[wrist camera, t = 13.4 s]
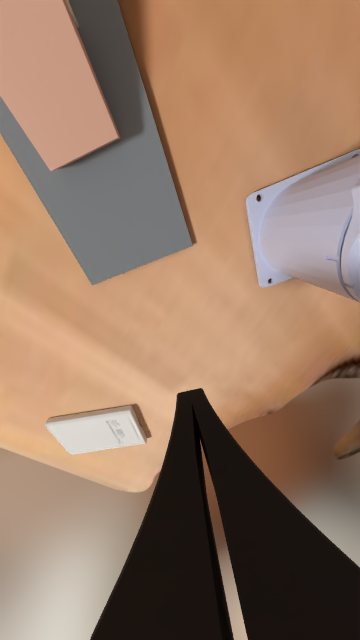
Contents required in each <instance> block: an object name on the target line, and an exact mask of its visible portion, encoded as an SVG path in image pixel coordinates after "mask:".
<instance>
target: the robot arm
mask: <svg viewBox="0 0 360 640" xmlns="http://www.w3.org/2000/svg"><path fill="white" fill-rule="evenodd" d="M352 157H354V158H352ZM257 195H260V196H261V200H260V201H259V202H258V201H257V200H256V197H257ZM246 209H247V216H248V222H249V228H250V234H251V240H252V246H253V252H254V258H255V265H256V271H257V277H258V283H259V286H261V287H262V288H266V287H269V286H272V285H275V284H278V283H281V282H283V281H286V280H289V279H292V278H297V279H300V280H302V281H305V282H307V283H310V284H313V285H315V286H318V287H321V288H323V289H326V290H328V291H331V292H334V293H336V294H339V295H342V296H344V297H347V298H349V299H352V300H355V301H357V302H360V149H358V150H355V151H353V152H350V153H348V154H345V155H343V156H341V157H338V158H336V159H333V160H331V161H329V162H326V163H324V164H321V165H319V166H316V167H314V168H312V169H309V170H307V171H304V172H302V173H300V174H297V175H295V176H292V177H290V178H288V179H285V180H283V181H280V182H278V183H275V184H273V185H271V186H268V187H266V188H263V189H261V190H259V191H256V192H254V193H251V194H250V195H248V197H247V198H246ZM270 278H271V282H269V283H268V280H269V279H270ZM200 440H201V444H202V447H203V450H204V454H205V457H206V461H207V464H208V468H209V472H210V475H211V479H212V482H213V485H214V489H215V493H216V497H217V500H218V505H219V509H220V514H221V518H222V523H223V527H224V532H225V537H226V541H227V546H228V551H229V555H230V560H231V564H232V569H233V573H234V578H235V582H236V587H237V592H238V596H239V600H240V605H241V610H242V614H243V619H244V624H245V628H246V633H247V637H248V640H360V567H358V566H357V565H356V564H355V563H354V562H353V561H352V560H351V559H350V558H349V557H348V556H346V555H345V554H344V553H343V552H342V551H341V550H340V549H339V548H338V547H337V546H336V545H335V544H334V543H332V542H331V541H330V540H329V539H328V538H327V537H326V536H325V535H324V534H323V533H322V532H321V531H320V530H318V528H317V527H316V526H315V525H313V524H312V523H311V522H310V521H309V520H308V519H307V518H306V517H305V516H304V515H303V514H302V513H301V512H300V511H299V510H298V509H297V508H296V507H295V506H294V505H293V504H292V503H291V502H290V501H289V500H288V499H287V498H286V497H285V496H284V495H283V494H282V492H281V491H280V490H279V489H278V488H277V487H276V486H275V485H274V484H273V483H272V482H271V481H270V480H269V479H268V478H267V477H266V476H265V475H264V473H263V472H262V471H261V470H260V469H259V468H258V467H257V466H256V465H255V463H254V462H253V461H252V460H251V459H250V458H249V456H248V455H247V454H246V453H245V452H244V451H243V449H242V448H241V447H240V446H239V444H238V443H237V442H236V440H235V439H234V438H233V437H232V435H231V434H230V433H229V431H228V430H227V429H226V427H225V426H224V424H223V423H222V421H221V420H220V419H219V417H218V416H217V414H216V413H215V411H214V409H213V408H212V406H211V405H210V403H209V401H208V399H207V397H206V395H205V393H204V391H203V389H201V388H199V389H195V390H190V391H186V392H181V393H178V394H177V402H176V411H175V417H174V422H173V427H172V432H171V436H170V440H169V444H168V448H167V451H166V455H165V459H164V462H163V465H162V469H161V472H160V475H159V478H158V481H157V484H156V487H155V490H154V492H153V495H152V498H151V501H150V504H149V506H148V509H147V512H146V514H145V517H144V519H143V522H142V524H141V527H140V529H139V532H138V534H137V536H136V538H135V541H134V543H133V546H132V548H131V550H130V553H129V555H128V558H127V560H126V562H125V565H124V567H123V569H122V572H121V574H120V576H119V578H118V580H117V582H116V584H115V586H114V589H113V591H112V593H111V595H110V597H109V599H108V601H107V604H106V606H105V608H104V610H103V612H102V614H101V616H100V619H99V621H98V623H97V625H96V627H95V629H94V632H93V634H92V636H91V639H90V640H234V638H233V633H232V628H231V623H230V617H229V612H228V607H227V602H226V597H225V591H224V586H223V581H222V576H221V570H220V565H219V560H218V554H217V549H216V543H215V538H214V533H213V527H212V522H211V517H210V511H209V506H208V500H207V493H206V486H205V477H204V469H203V461H202V452H201V444H200Z"/></svg>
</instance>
